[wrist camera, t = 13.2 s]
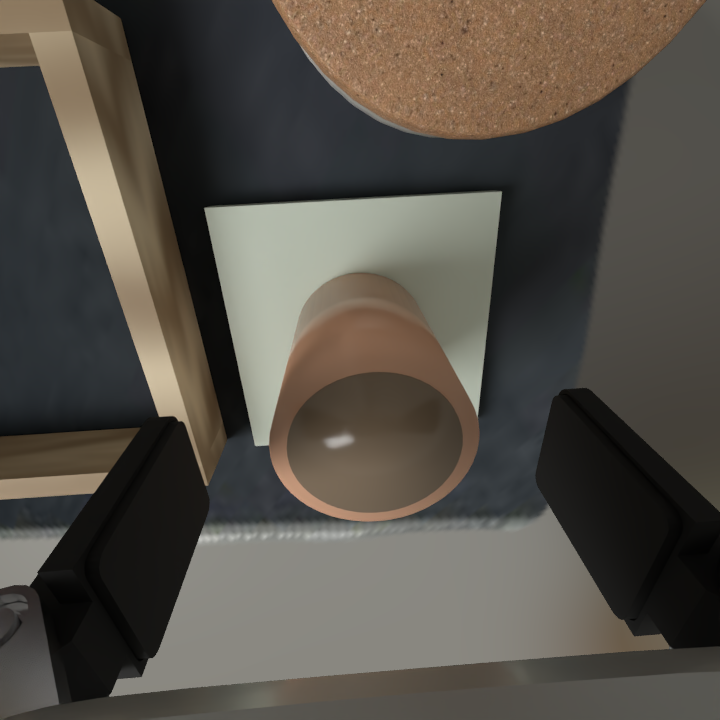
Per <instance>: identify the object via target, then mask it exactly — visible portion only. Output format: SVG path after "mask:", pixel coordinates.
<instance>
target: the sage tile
mask: <svg viewBox="0 0 720 720" xmlns="http://www.w3.org/2000/svg"><path fill="white" fill-rule="evenodd" d="M501 196H502V191H495V190H487V191H469V192H451V193H433V194H415V195H397V196H379V197H361V198H342V199H324V200H306V201H288V202H270V203H252V204H234V205H216V206H209V207H206V208H204V209H205V214H206V219H207V223H208V228H209V233H210V237H211V242H212V247H213V251H214V256H215V261H216V265H217V270H218V275H219V279H220V284H221V289H222V293H223V298H224V303H225V307H226V312H227V317H228V321H229V326H230V331H231V335H232V340H233V345H234V349H235V354H236V359H237V363H238V368H239V373H240V377H241V382H242V387H243V391H244V396H245V401H246V405H247V410H248V415H249V419H250V424H251V429H252V433H253V438H254V443H255V446H263V445H269V436H270V430H271V425H272V421H273V417H274V413H275V409H276V405H277V401H278V397H279V393H280V389H281V386H282V382H283V378H284V374H285V370H286V366H287V362H288V358H289V354H290V350H291V346H292V342H293V338H294V334H295V330H296V326H297V322H298V318H299V315H300V313H301V310H302V308H303V306H304V304H305V303H306V301H307V300H308V298H309V297H310V296H311V295H312V294H313V293H314V292H315V291H316V290H317V289H318V288H319V287H321V286H322V285H323V284H325V283H326V282H328V281H330V280H332V279H334V278H337V277H339V276H343V275H347V274H352V273H371V274H377V275H381V276H384V277H387V278H389V279H391V280H393V281H395V282H397V283H398V284H400V285H401V286H402V287H404V288H405V289H406V290H407V291H408V292H409V293H410V294H411V295H412V297H413V298H414V300H415V301H416V302H417V304H418V306H419V308H420V310H421V311H422V313H423V315H424V317H425V319H426V320H427V322H428V324H429V326H430V328H431V330H432V331H433V333H434V335H435V337H436V339H437V340H438V342H439V344H440V346H441V348H442V349H443V351H444V353H445V355H446V357H447V358H448V360H449V362H450V364H451V366H452V367H453V369H454V371H455V373H456V375H457V376H458V378H459V380H460V382H461V384H462V386H463V387H464V389H465V391H466V393H467V395H468V396H469V398H470V400H471V402H472V404H473V406H474V408H475V411H476V415H477V418H478V410H479V400H480V391H481V382H482V373H483V363H484V354H485V345H486V335H487V326H488V317H489V308H490V298H491V289H492V280H493V270H494V261H495V252H496V243H497V233H498V224H499V215H500V205H501Z"/></svg>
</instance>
